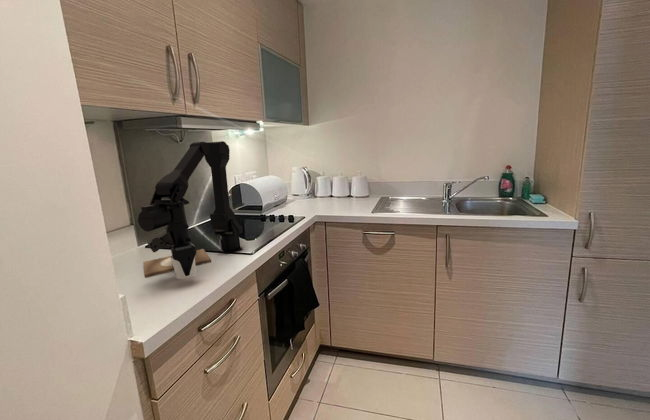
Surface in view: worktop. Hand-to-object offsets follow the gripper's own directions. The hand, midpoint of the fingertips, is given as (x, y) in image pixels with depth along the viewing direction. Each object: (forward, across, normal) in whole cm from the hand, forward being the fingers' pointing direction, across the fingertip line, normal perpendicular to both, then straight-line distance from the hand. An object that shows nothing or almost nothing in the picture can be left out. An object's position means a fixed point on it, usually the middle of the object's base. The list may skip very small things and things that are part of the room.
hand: (185, 270), depth 100 cm
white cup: (+2, 0, 0) cm, 2 cm away
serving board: (+2, -14, -1) cm, 14 cm away
